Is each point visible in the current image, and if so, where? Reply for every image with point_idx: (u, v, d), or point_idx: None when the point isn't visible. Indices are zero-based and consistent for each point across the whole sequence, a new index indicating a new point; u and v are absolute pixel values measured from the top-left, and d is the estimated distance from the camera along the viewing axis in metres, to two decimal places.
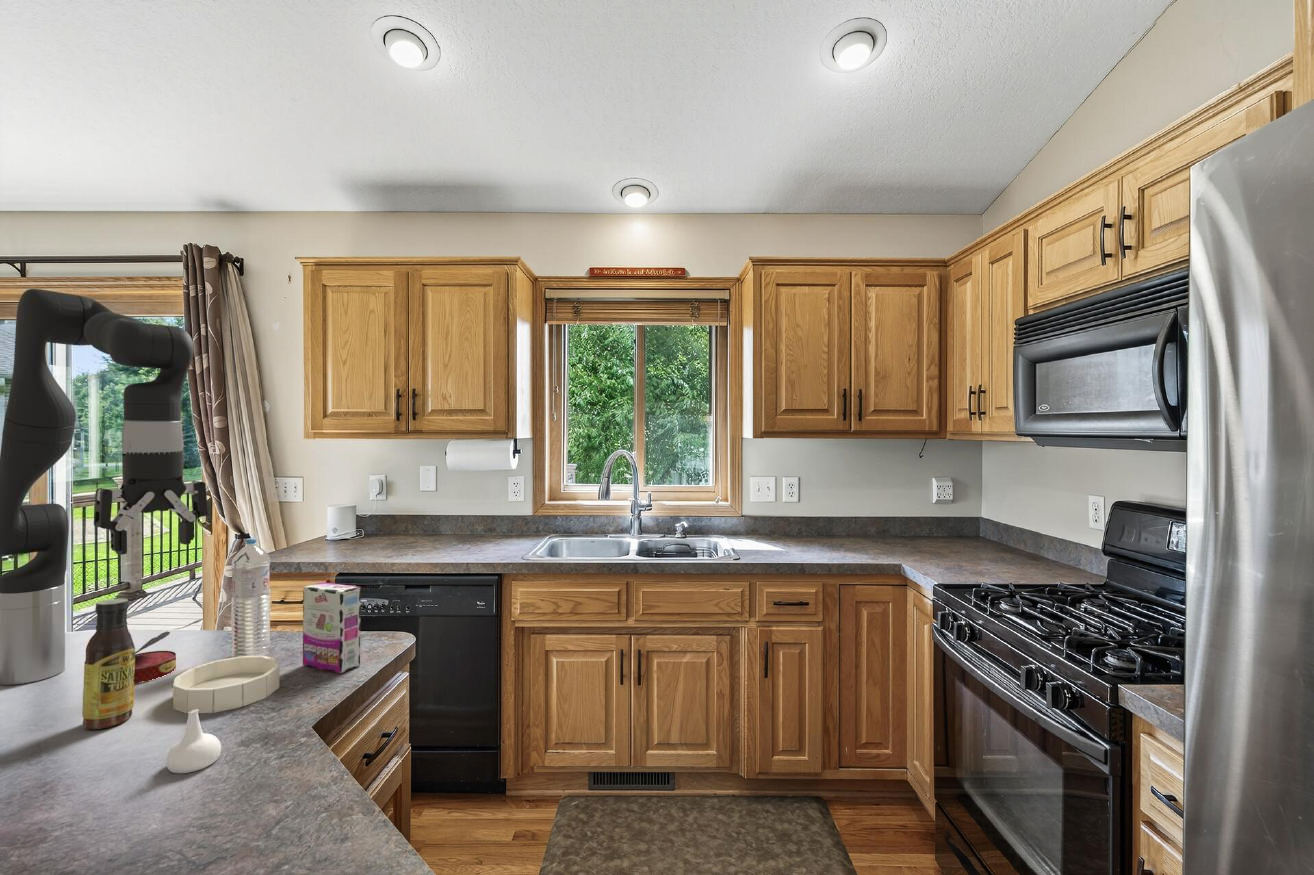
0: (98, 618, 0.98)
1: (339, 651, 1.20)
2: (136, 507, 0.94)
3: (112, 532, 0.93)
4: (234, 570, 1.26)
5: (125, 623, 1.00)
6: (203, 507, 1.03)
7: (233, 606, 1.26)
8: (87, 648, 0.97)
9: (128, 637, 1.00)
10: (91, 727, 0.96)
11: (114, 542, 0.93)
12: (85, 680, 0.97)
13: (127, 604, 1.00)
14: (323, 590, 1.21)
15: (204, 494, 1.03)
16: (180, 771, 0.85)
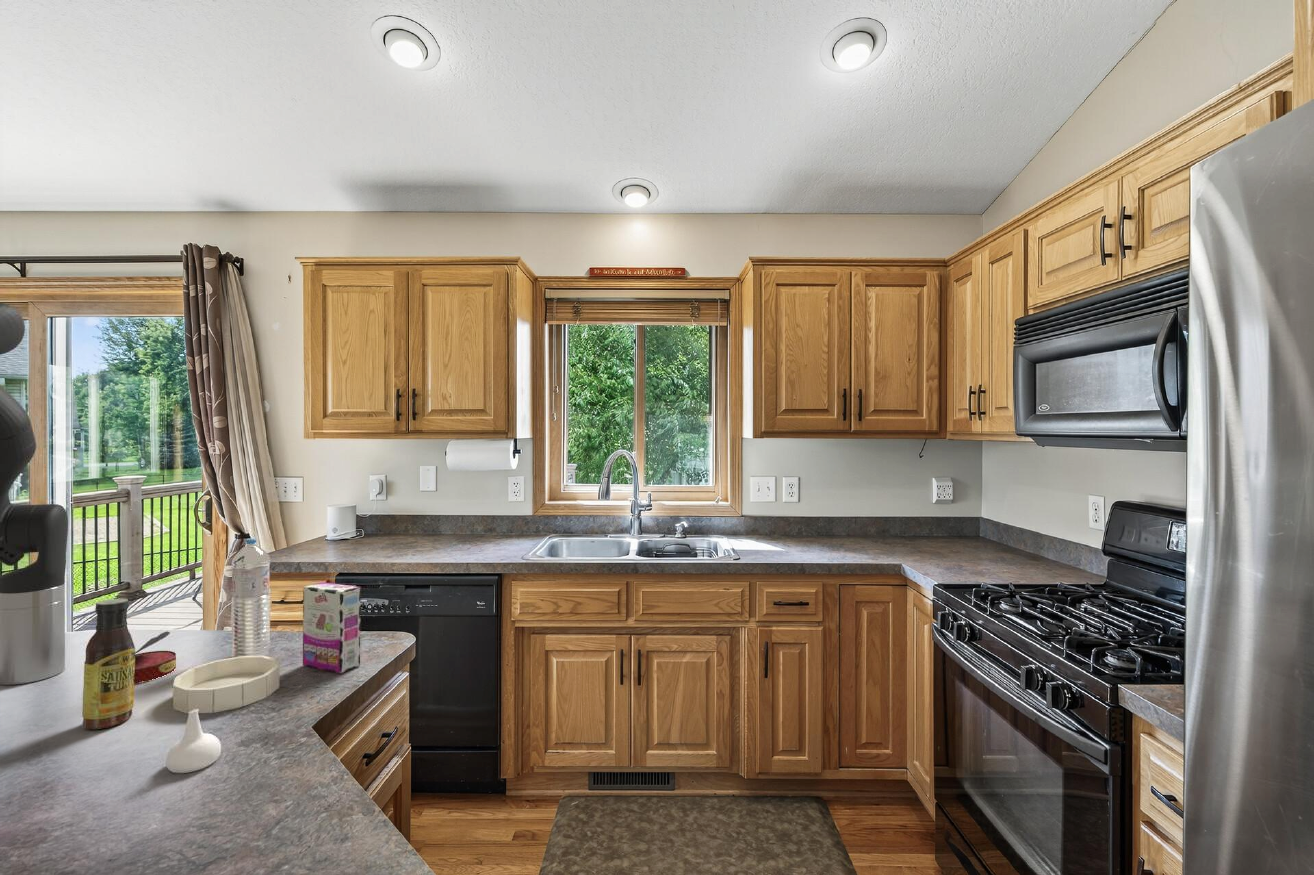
0: (98, 618, 0.98)
1: (339, 651, 1.20)
2: None
3: None
4: (234, 570, 1.26)
5: (125, 623, 1.00)
6: None
7: (233, 606, 1.26)
8: (87, 648, 0.97)
9: (128, 637, 1.00)
10: (91, 727, 0.96)
11: None
12: (85, 680, 0.97)
13: (127, 604, 1.00)
14: (323, 590, 1.21)
15: None
16: (180, 771, 0.85)
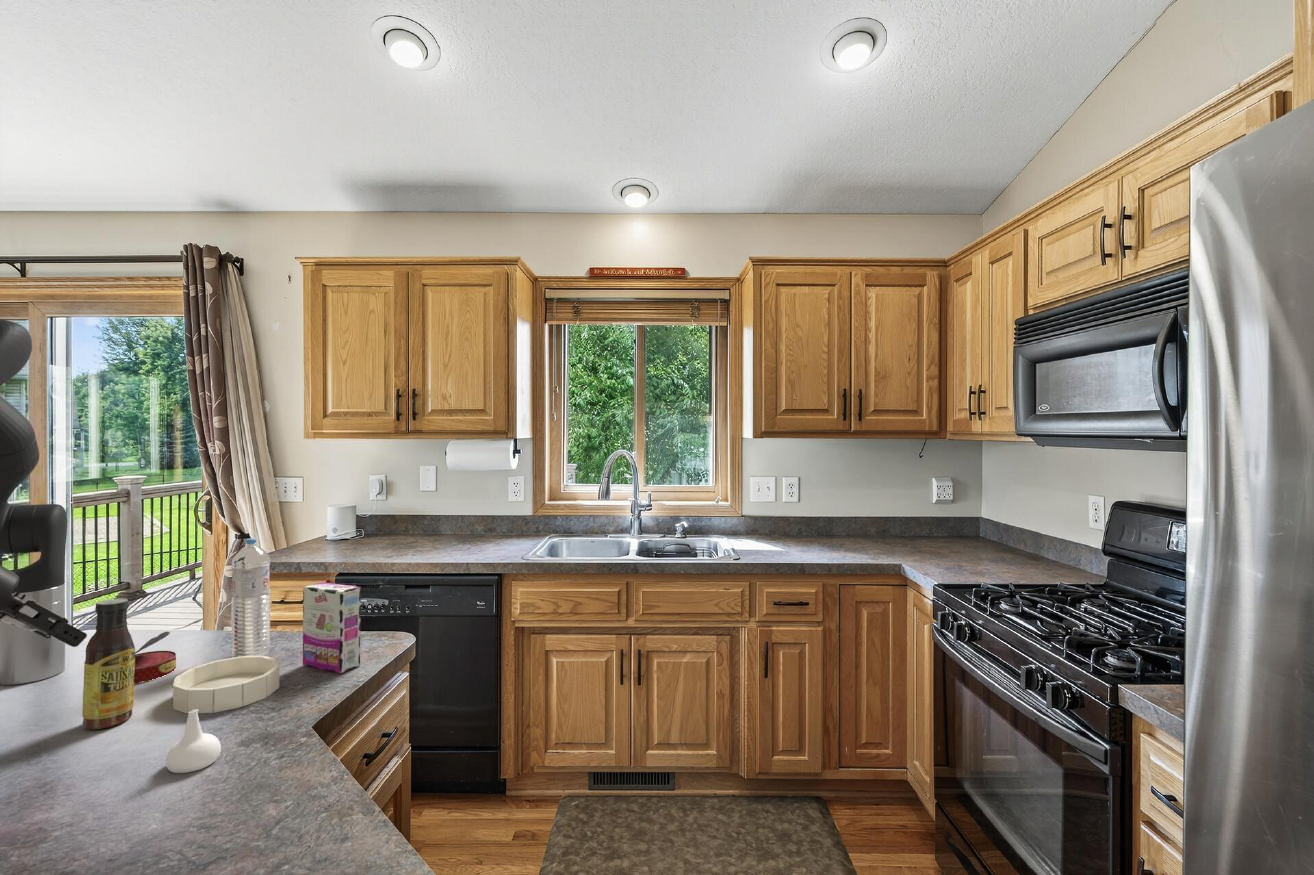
0: (98, 618, 0.98)
1: (339, 651, 1.20)
2: (2, 620, 0.90)
3: None
4: (234, 570, 1.26)
5: (125, 623, 1.00)
6: (43, 631, 0.87)
7: (233, 606, 1.26)
8: (87, 648, 0.97)
9: (128, 637, 1.00)
10: (91, 727, 0.96)
11: None
12: (85, 680, 0.97)
13: (127, 604, 1.00)
14: (323, 590, 1.21)
15: (28, 623, 0.86)
16: (180, 771, 0.85)
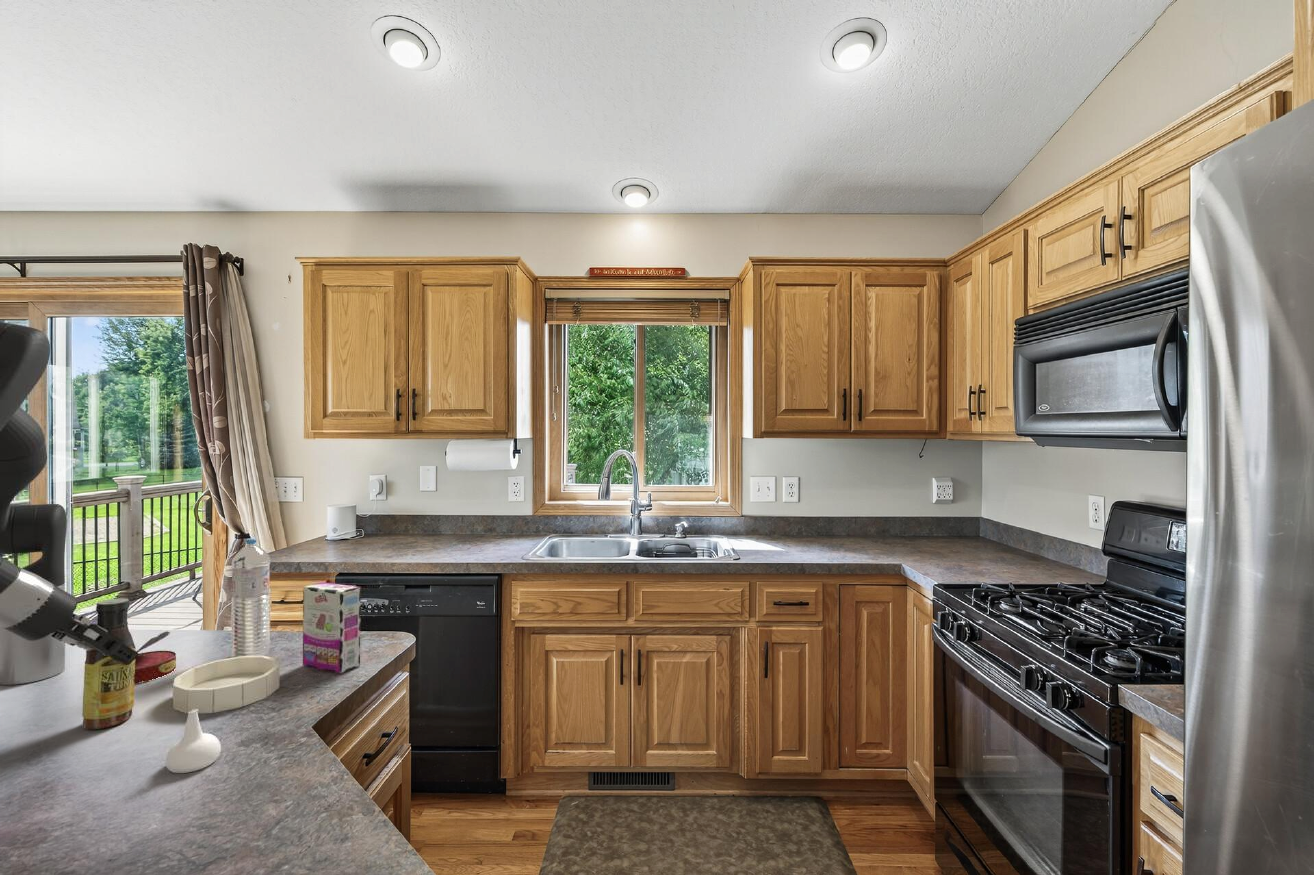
0: (99, 618, 0.98)
1: (339, 651, 1.20)
2: (63, 641, 0.96)
3: None
4: (234, 570, 1.26)
5: (126, 623, 1.00)
6: (101, 651, 0.94)
7: (233, 606, 1.26)
8: None
9: (128, 637, 1.00)
10: (91, 727, 0.96)
11: None
12: (85, 680, 0.97)
13: (128, 604, 1.00)
14: (323, 590, 1.21)
15: (91, 645, 0.92)
16: (180, 771, 0.85)
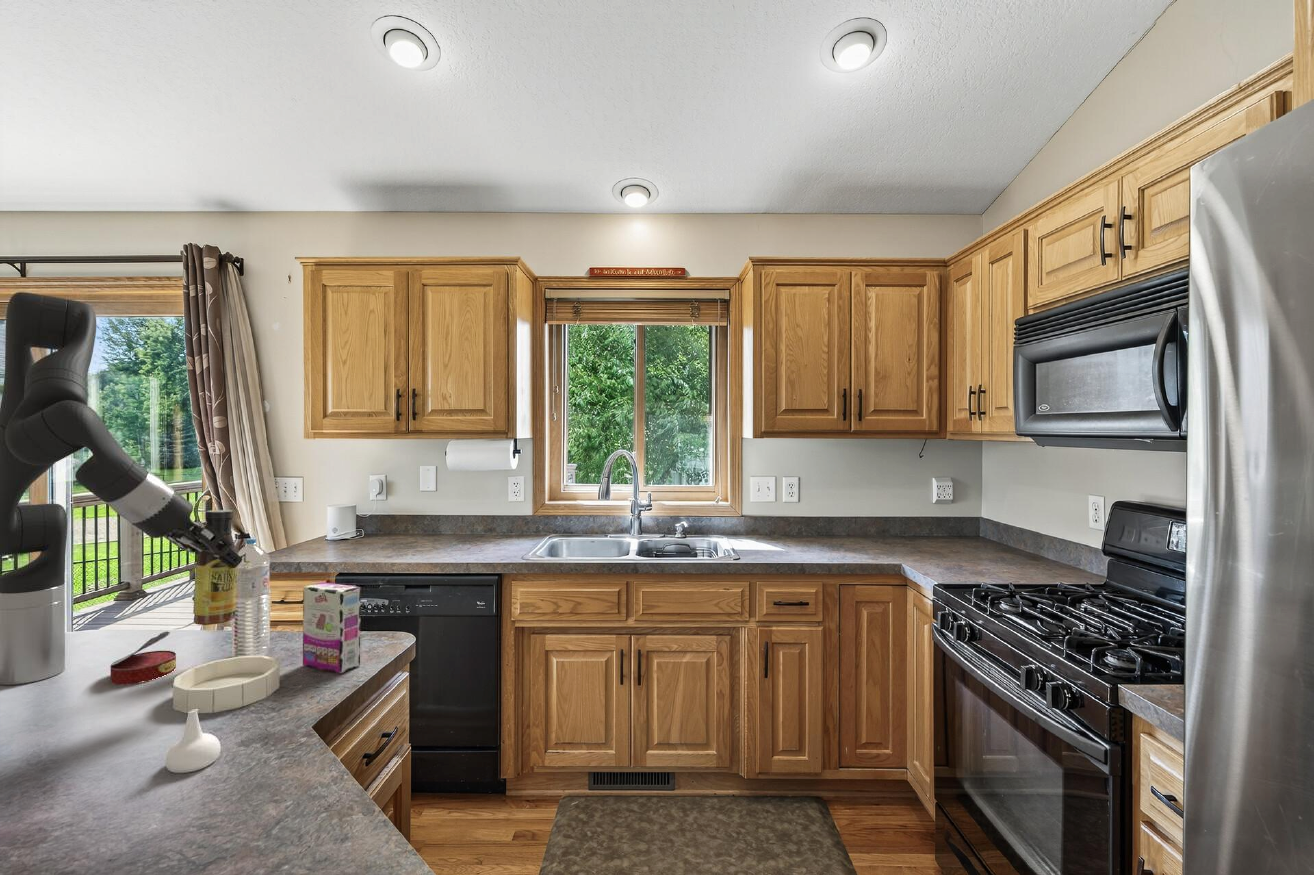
0: None
1: (339, 651, 1.20)
2: (177, 544, 1.05)
3: None
4: None
5: (230, 531, 1.09)
6: (214, 551, 1.03)
7: None
8: (198, 551, 1.07)
9: (233, 544, 1.09)
10: (202, 622, 1.05)
11: None
12: (197, 580, 1.06)
13: (232, 514, 1.10)
14: (323, 590, 1.21)
15: (206, 544, 1.01)
16: (179, 771, 0.85)
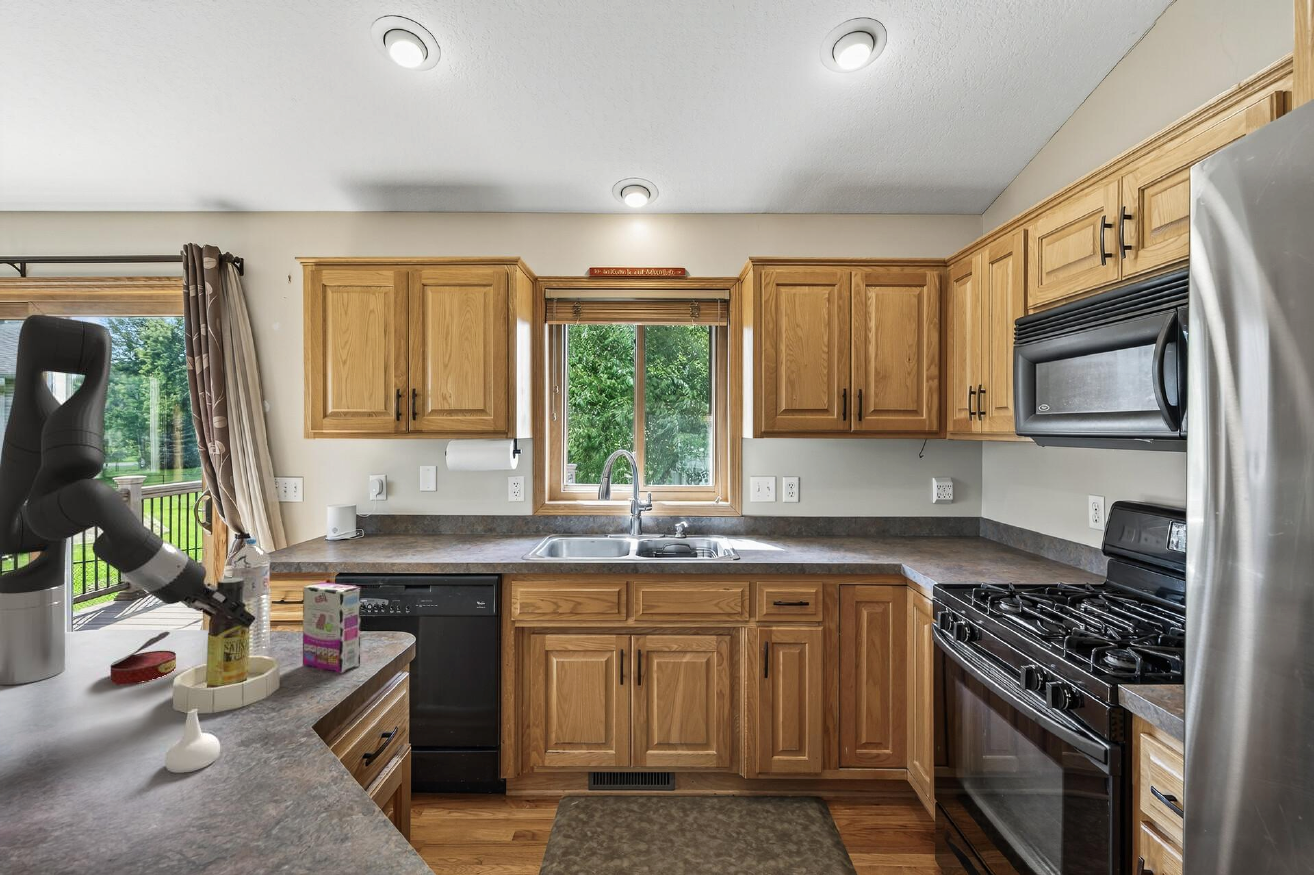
0: None
1: (339, 651, 1.20)
2: (188, 605, 1.07)
3: None
4: (234, 570, 1.26)
5: (242, 600, 1.11)
6: (228, 613, 1.04)
7: None
8: (211, 621, 1.08)
9: None
10: None
11: None
12: (209, 650, 1.07)
13: (243, 583, 1.11)
14: (323, 590, 1.21)
15: (219, 607, 1.03)
16: (179, 771, 0.85)
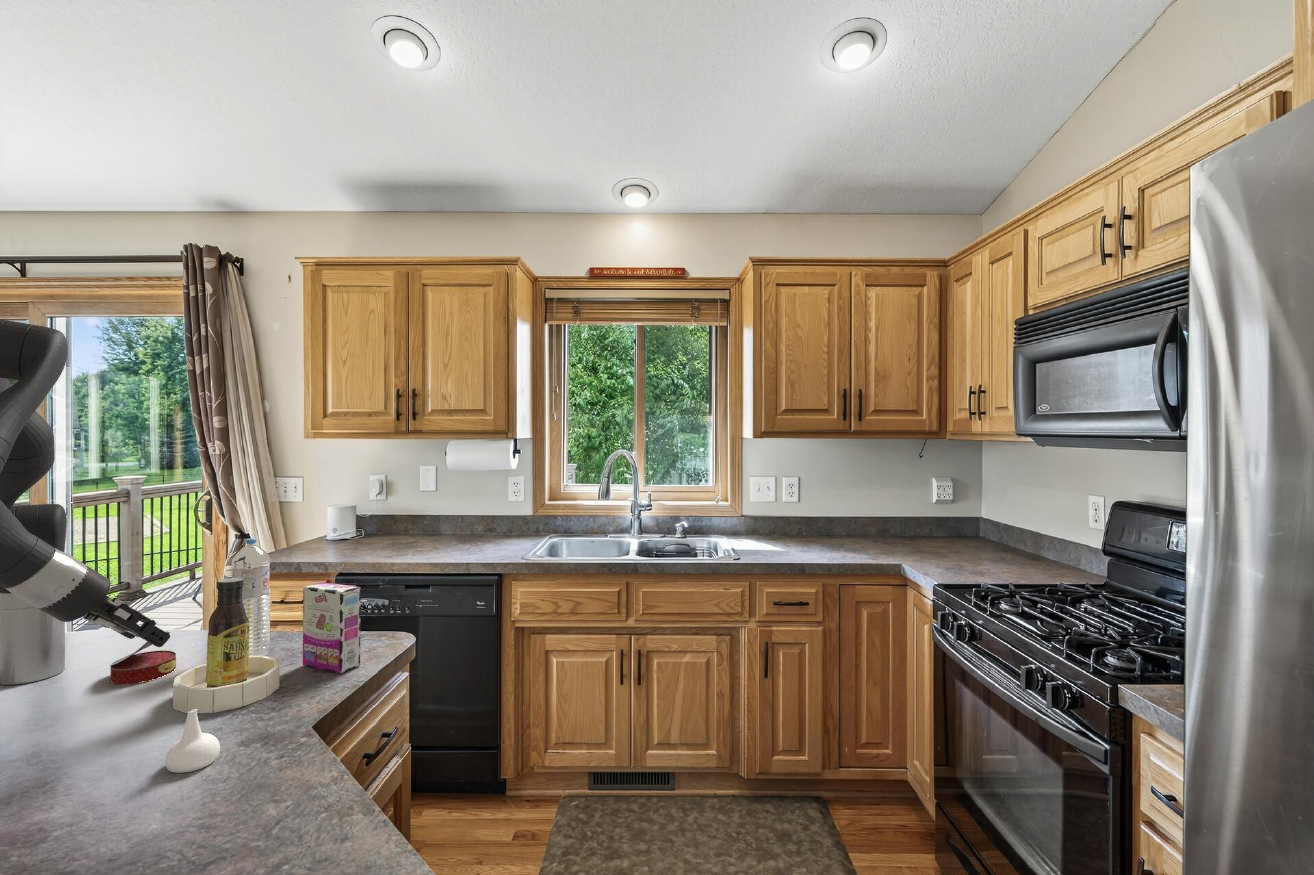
0: (219, 594, 1.09)
1: (339, 651, 1.20)
2: None
3: None
4: (234, 570, 1.26)
5: (241, 599, 1.11)
6: (134, 632, 0.92)
7: None
8: (210, 621, 1.08)
9: (244, 612, 1.11)
10: None
11: None
12: (209, 650, 1.07)
13: (243, 582, 1.11)
14: (323, 590, 1.21)
15: (122, 625, 0.91)
16: (179, 771, 0.85)
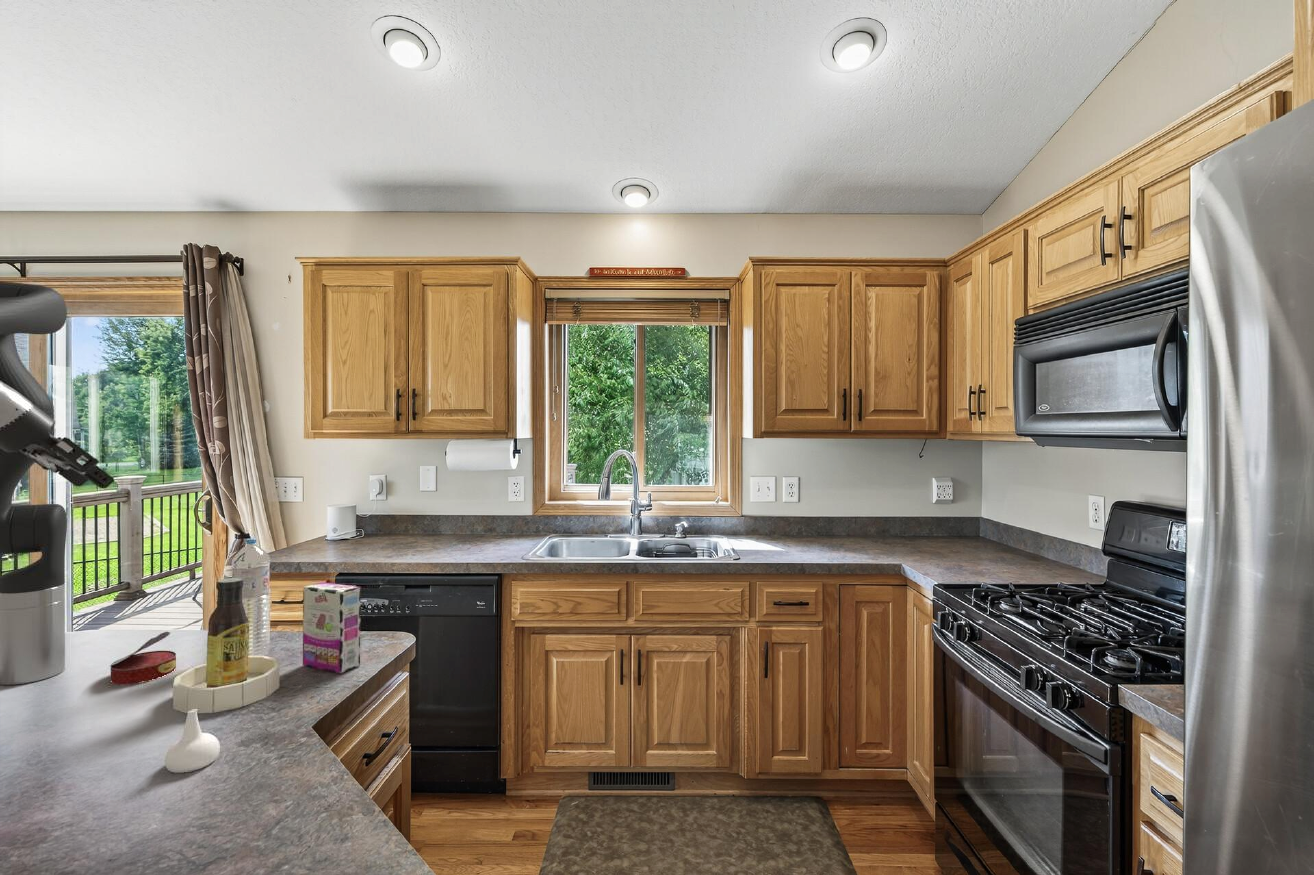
0: (219, 595, 1.09)
1: (339, 651, 1.20)
2: (39, 462, 1.01)
3: None
4: (234, 570, 1.26)
5: (241, 600, 1.11)
6: (77, 466, 0.98)
7: None
8: (210, 621, 1.08)
9: (244, 612, 1.11)
10: None
11: None
12: (209, 650, 1.07)
13: (242, 582, 1.11)
14: (323, 590, 1.21)
15: (64, 457, 0.96)
16: (179, 770, 0.85)
